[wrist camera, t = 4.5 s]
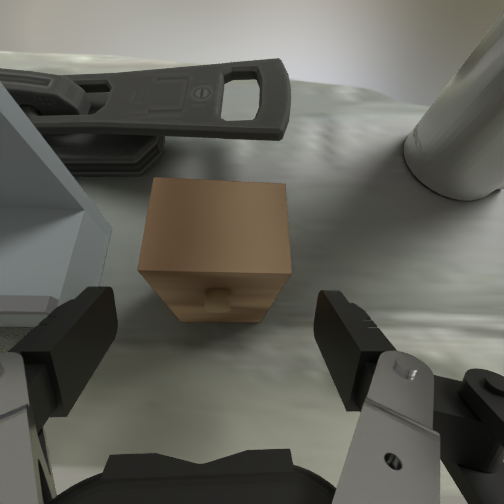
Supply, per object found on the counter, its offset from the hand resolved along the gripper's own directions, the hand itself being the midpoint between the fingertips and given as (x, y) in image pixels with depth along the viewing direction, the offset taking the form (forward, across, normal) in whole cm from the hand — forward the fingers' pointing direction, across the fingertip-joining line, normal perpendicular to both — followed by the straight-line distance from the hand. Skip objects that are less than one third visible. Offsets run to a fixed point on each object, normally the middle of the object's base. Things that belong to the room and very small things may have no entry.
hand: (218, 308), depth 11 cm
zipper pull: (+18, +8, -6) cm, 20 cm away
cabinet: (+8, 0, +4) cm, 9 cm away
